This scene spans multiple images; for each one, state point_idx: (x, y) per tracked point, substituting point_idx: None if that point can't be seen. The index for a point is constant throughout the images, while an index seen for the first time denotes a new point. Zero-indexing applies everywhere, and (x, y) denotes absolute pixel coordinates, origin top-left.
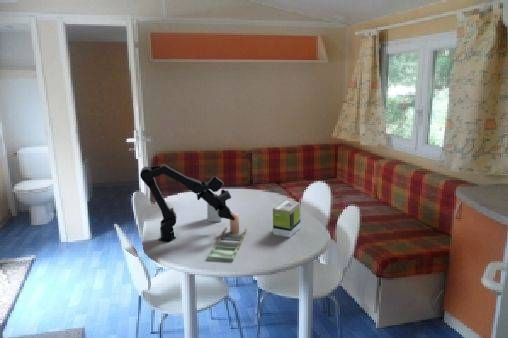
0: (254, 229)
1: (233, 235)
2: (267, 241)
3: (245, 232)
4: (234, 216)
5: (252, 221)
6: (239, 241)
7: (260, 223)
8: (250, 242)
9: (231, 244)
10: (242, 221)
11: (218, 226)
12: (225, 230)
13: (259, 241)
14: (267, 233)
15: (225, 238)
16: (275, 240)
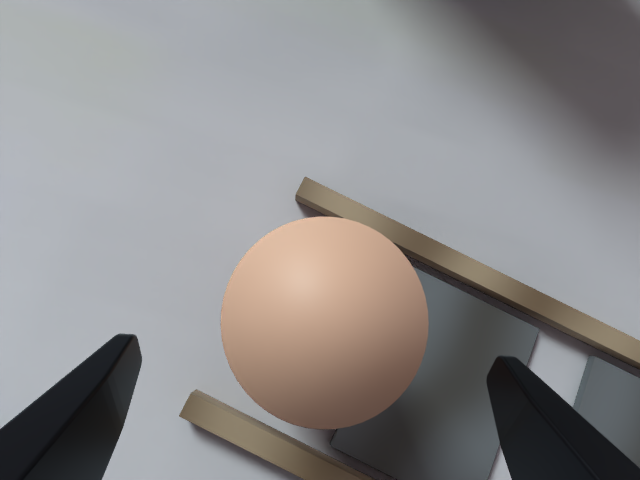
0: (300, 106)
1: None
2: (593, 92)
3: (385, 218)
4: (423, 341)
5: (80, 56)
6: (607, 345)
7: (170, 5)
8: (588, 236)
9: (628, 438)
10: (29, 152)
11: None
12: (262, 427)
13: (581, 154)
14: (429, 33)
15: (467, 471)
16: (585, 28)
